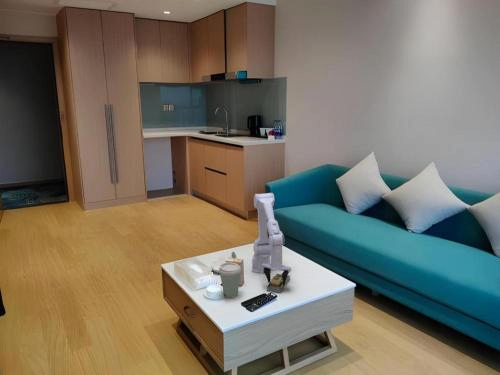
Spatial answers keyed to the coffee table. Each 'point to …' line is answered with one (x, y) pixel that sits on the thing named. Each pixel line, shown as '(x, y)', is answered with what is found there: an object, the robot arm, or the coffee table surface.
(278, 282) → the wooden block
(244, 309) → the coffee table surface
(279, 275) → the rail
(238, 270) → the disposable coffee cup
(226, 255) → the spoon rest
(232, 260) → the supplement box
